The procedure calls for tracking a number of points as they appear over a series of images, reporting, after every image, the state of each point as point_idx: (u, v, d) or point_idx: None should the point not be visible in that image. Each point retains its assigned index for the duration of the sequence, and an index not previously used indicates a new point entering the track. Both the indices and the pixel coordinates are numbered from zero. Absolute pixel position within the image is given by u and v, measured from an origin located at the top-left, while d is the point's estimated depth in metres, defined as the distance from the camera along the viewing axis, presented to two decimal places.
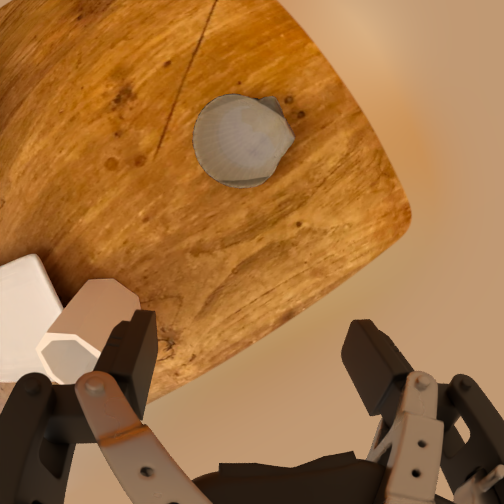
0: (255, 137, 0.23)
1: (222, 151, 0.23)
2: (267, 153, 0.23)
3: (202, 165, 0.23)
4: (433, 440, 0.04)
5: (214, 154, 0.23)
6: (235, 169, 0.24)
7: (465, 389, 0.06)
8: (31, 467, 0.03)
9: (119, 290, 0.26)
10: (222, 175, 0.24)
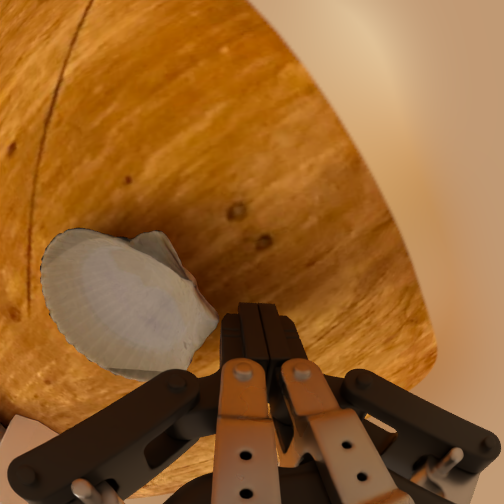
0: (151, 295, 0.12)
1: (100, 320, 0.12)
2: (174, 330, 0.12)
3: (73, 345, 0.12)
4: (356, 434, 0.05)
5: (88, 326, 0.12)
6: (126, 350, 0.12)
7: (359, 387, 0.07)
8: (129, 454, 0.05)
9: (46, 438, 0.15)
10: (107, 359, 0.12)
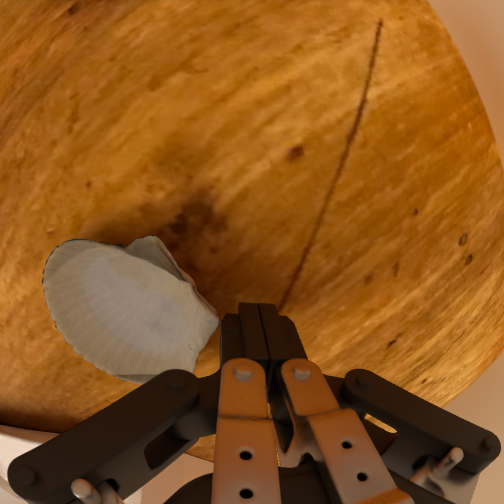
0: (153, 300, 0.12)
1: (105, 328, 0.12)
2: (178, 332, 0.12)
3: (81, 354, 0.12)
4: (356, 435, 0.05)
5: (94, 335, 0.12)
6: (133, 355, 0.13)
7: (359, 387, 0.07)
8: (129, 454, 0.05)
9: (197, 469, 0.17)
10: (115, 366, 0.12)
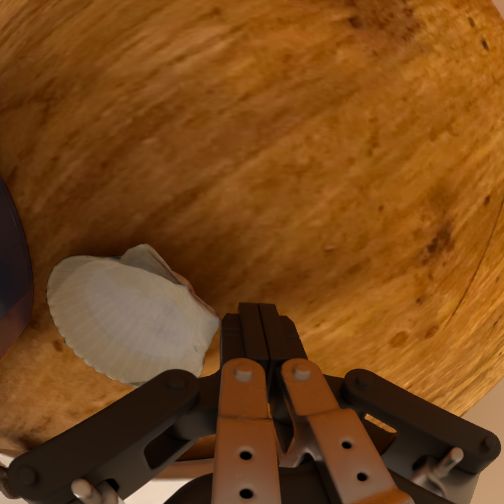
0: (155, 306, 0.12)
1: (112, 338, 0.12)
2: (183, 335, 0.12)
3: (93, 366, 0.12)
4: (356, 435, 0.05)
5: (103, 346, 0.12)
6: (143, 363, 0.13)
7: (359, 387, 0.07)
8: (129, 454, 0.05)
9: None
10: (127, 375, 0.13)
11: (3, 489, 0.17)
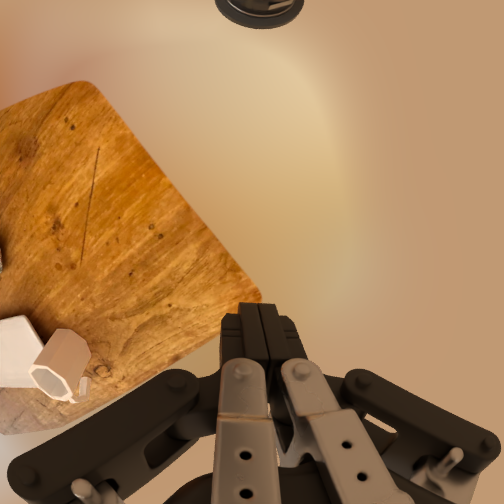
0: None
1: None
2: (0, 254, 0.33)
3: None
4: (356, 434, 0.05)
5: None
6: None
7: (359, 387, 0.07)
8: (129, 454, 0.05)
9: (73, 337, 0.39)
10: None
11: None
